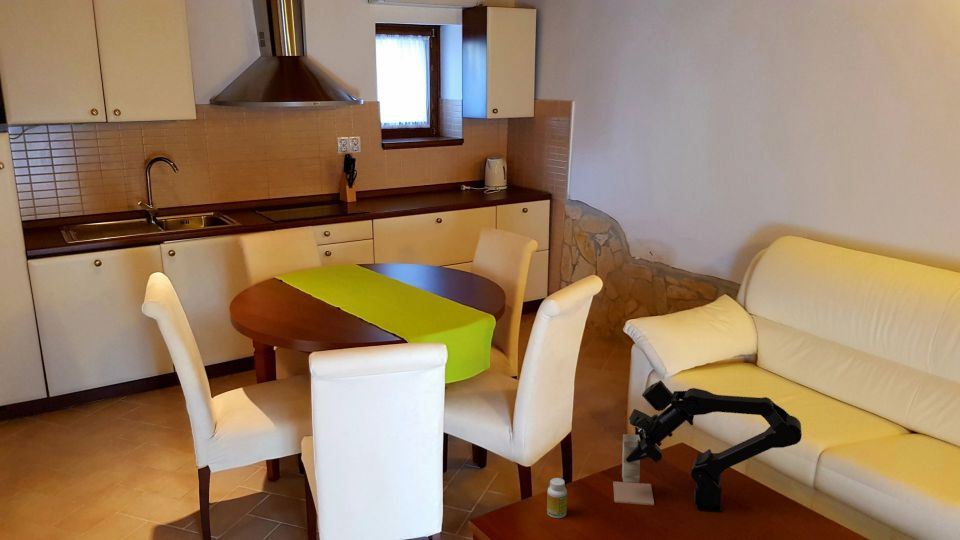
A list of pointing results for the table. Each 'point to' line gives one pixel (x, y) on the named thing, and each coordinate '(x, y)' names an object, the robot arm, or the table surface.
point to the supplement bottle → (557, 498)
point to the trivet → (633, 493)
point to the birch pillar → (632, 468)
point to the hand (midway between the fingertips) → (626, 456)
